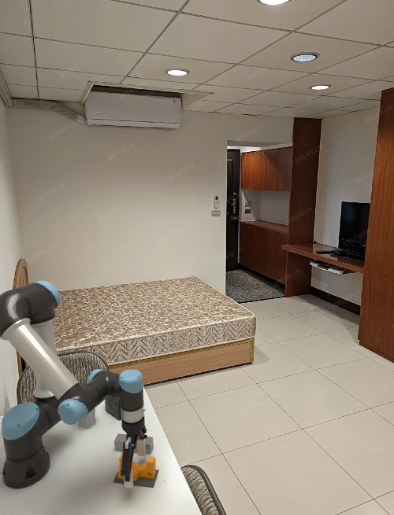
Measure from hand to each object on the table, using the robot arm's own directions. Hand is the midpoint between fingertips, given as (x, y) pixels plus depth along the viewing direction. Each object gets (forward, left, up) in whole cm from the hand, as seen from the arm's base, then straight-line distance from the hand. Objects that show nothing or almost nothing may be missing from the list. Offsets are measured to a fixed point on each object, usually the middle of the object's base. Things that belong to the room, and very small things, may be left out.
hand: (135, 470), depth 120 cm
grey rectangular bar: (-5, +12, -3) cm, 14 cm away
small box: (-19, +32, -3) cm, 37 cm away
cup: (-29, +23, -3) cm, 37 cm away
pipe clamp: (+1, 0, -2) cm, 2 cm away
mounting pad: (0, 0, -3) cm, 3 cm away
